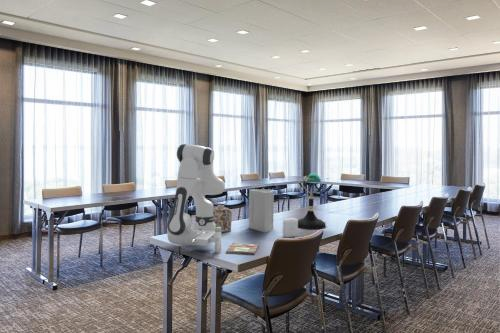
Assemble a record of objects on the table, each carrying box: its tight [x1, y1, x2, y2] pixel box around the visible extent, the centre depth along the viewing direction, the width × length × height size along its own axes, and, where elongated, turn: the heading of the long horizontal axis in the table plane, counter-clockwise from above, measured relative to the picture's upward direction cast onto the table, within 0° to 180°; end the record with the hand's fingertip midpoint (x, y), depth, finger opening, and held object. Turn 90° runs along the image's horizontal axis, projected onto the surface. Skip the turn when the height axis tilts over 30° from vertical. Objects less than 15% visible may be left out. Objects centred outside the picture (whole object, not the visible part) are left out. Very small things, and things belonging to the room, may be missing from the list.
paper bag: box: [248, 188, 275, 233], centre depth 281 cm, size 19×15×28 cm
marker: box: [214, 227, 222, 254], centre depth 218 cm, size 4×4×14 cm
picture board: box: [225, 242, 260, 256], centre depth 224 cm, size 18×16×1 cm
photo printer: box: [282, 217, 299, 238], centre depth 258 cm, size 10×4×12 cm, turn 113°
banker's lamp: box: [297, 172, 327, 230], centre depth 292 cm, size 26×23×40 cm
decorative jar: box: [213, 204, 233, 233], centre depth 272 cm, size 12×12×18 cm
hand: (219, 238), depth 218 cm, fingers closed on marker, 3 cm apart
